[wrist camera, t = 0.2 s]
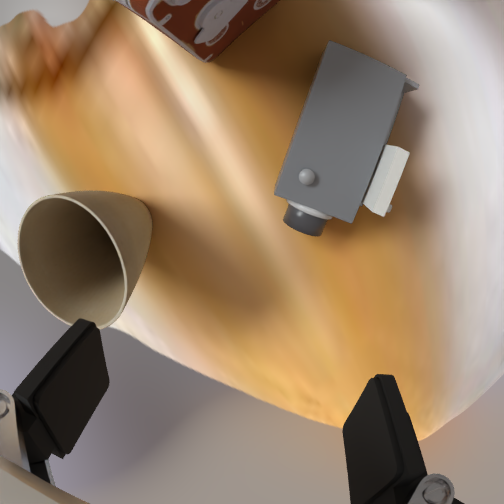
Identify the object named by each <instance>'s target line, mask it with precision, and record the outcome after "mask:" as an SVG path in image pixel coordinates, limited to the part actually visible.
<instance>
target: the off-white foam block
mask: <svg viewBox="0 0 504 504" xmlns="http://www.w3.org/2000/svg"><path fill="white" fill-rule="evenodd" d="M408 156H409V152H407V151H406V150H404V149H402V148H400V147H397V146H391V145H383V147H382V150H381V153H380V156H379V158H378V161H377V163H376V166H375V169H374V171H373V174H372V176H371V179H370V181H369V184H368V186H367V189H366V191H365V194H364V196H363V199H362V201H361V202H362V203H363V204H364V205H365V206H366V207H367V208H369V209H370V210H371V211H372V212H374V213H376V214H378V215H381V216H383V217H384V216H385V213H386V212H389V213H390V211H391V208H392V205H391V204H390V202H391V199H392V197H393V194H394V192H395V190H396V187H397V185H398V182H399V180H400V177H401V175H402V172H403V169H404V167H405V164H406V162H407V159H408Z"/></svg>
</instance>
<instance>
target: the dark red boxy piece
mask: <svg viewBox="0 0 504 504" xmlns="http://www.w3.org/2000/svg"><path fill="white" fill-rule="evenodd" d="M113 1H114V0H113ZM115 1H117V2H118V3H120V4H121V5H123V6H124V7H126V8H128V9H129V10H131V11H132V12H133V13H135V14H136V15H138V16H139V17H141V18H142V19H144V20H145V21H147V22H148V23H149V24H151V25H152V26H154V27H155V28H156V29H158V30H159V31H161V32H162V33H163V34H165V35H166V36H168V37H169V38H170V39H172V40H173V41H174V42H176V43H177V44H178V45H180V46H181V47H182V48H184V49H185V50H186V51H188V52H189V53H191V54H192V55H193V56H195V57H196V58H197V59H199V60H201V61H203V62H211V61H212V60H214V59H215V58H216V57H217V56H218V55H219V54H220V53H221V52H222V51H223V50H224V49H225V48H226V47H227V46H229V45H230V44H231V43H232V42H233V41H234V40H235V39H236V38H237V37H238V36H239V35H240V34H241V33H243V32H244V31H245V30H246V29H247V28H248V27H249V26H250V25H252V24H253V23H254V22H255V21H256V20H257V19H259V18H260V17H261V16H262V15H263V14H265V13H266V12H267V11H268V10H269V9H271V8H272V7H273V6H274V5H276V4H277V3H278V2H279V1H280V0H115Z"/></svg>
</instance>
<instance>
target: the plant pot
mask: <svg viewBox="0 0 504 504" xmlns="http://www.w3.org/2000/svg"><path fill="white" fill-rule="evenodd" d="M151 235H152V218H151V214H150V212H149V210H148V208H147V207H146V206H145V205H144V204H143V203H142V202H141V201H140V200H138V199H136V198H134V197H131V196H128V195H124V194H120V193H115V192H107V191H75V192H68V193H61V194H55V195H48V196H45V197H42V198H40V199H38V200H36V201H35V202H33V203H32V204H31V205H30V206H29V208H28V209H27V210H26V212H25V214H24V215H23V218H22V220H21V223H20V226H19V231H18V253H19V260H20V264H21V268H22V271H23V274H24V276H25V278H26V281H27V283H28V285H29V286H30V288H31V290H32V292H33V293H34V295H35V296H36V298H37V299H38V300H39V302H40V303H41V304H42V305H43V306H44V307H45V308H46V309H47V310H48V311H49V312H50V313H51V314H52V315H54V316H55V317H56V318H57V319H59V320H60V321H62V322H64V323H66V324H68V325H70V326H72V325H73V324H74V323H75V322H76V321H77V320H78V319H79V318H82V319H85V320H88V321H91V322H94V323H95V324H96V327H97V328H99V330H100V329H103V328H106V327H108V326H110V325H111V324H113V323H114V322H115V321H116V320H117V319H118V318H119V316H120V315H121V313H122V311H123V310H124V308H125V306H126V304H127V302H128V300H129V298H130V296H131V294H132V292H133V290H134V288H135V286H136V283H137V281H138V279H139V276H140V274H141V271H142V269H143V266H144V263H145V260H146V257H147V253H148V249H149V245H150V241H151Z"/></svg>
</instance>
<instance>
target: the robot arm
mask: <svg viewBox="0 0 504 504" xmlns="http://www.w3.org/2000/svg"><path fill="white" fill-rule="evenodd" d="M108 386H109V376H108V371H107V367H106V362H105V357H104V352H103V346H102V341H101V335H100V330H99V328H97V327H96V324H95V323H94V322H91V321H88V320H85V319H82V318H79V319H78V320H77V321H76V322H75V323H74V324H73V325H72V326H71V327H70V328H69V329H68V330H67V331H66V333H65V334H64V335H63V336H62V337H61V338H60V339H59V340H58V341H57V342H56V343H55V345H54V346H53V347H52V348H51V349H50V350H49V351H48V352H47V353H46V355H45V356H44V357H43V358H42V359H41V360H40V361H39V363H38V364H37V365H36V366H35V367H34V369H33V370H32V371H31V372H30V373H29V374H28V375H27V377H26V378H25V379H24V380H23V381H22V383H21V384H20V385H19V386H18V387H17V389H16V390H15V391H14V393H13V395H12V396H11V395H10V394H9V393H8V392H7V391H4V390H0V504H89V503H87V502H85V501H83V500H81V499H79V498H76V497H75V496H72V495H71V494H69V493H67V492H65V491H63V490H60V489H59V488H57V487H56V486H55V483H54V479H53V476H52V472H51V469H50V464H49V460H48V458H49V457H50V455H51V453H52V454H54V455H56V456H58V457H60V458H62V459H63V457H64V456H65V454H69V453H70V452H71V451H72V449H73V447H74V446H75V443H76V442H77V440H78V438H79V437H80V435H81V433H82V431H83V430H84V428H85V426H86V425H87V423H88V421H89V419H90V418H91V416H92V414H93V412H94V411H95V409H96V407H97V406H98V404H99V402H100V400H101V399H102V397H103V396H104V394H105V392H106V391H107V389H108ZM343 438H344V446H345V454H346V463H347V472H348V480H349V491H350V501H351V504H464V503H462V502H460V501H459V500H457V499H455V498H454V487H453V484H452V483H451V481H450V480H449V479H448V478H447V477H445V476H444V475H441V474H430V475H427V471H426V467H425V464H424V461H423V457H422V454H421V450H420V447H419V444H418V441H417V438H416V434H415V431H414V428H413V425H412V422H411V419H410V416H409V414H408V413H407V411H406V408H405V405H404V403H403V400H402V397H401V394H400V391H399V389H398V386H397V383H396V380H395V378H394V376H393V375H384V374H377V375H375V377H374V378H371V379H370V380H369V381H368V383H367V385H366V387H365V389H364V391H363V392H362V394H361V396H360V398H359V400H358V401H357V403H356V405H355V406H354V408H353V410H352V412H351V413H350V415H349V417H348V418H347V420H346V422H345V423H344V426H343Z"/></svg>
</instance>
